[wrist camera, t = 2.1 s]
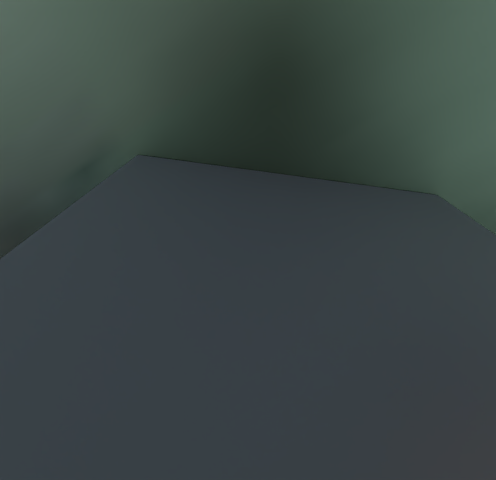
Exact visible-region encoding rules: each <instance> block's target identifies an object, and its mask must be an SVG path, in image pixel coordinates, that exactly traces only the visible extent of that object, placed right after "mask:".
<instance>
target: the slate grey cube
mask: <svg viewBox="0 0 496 480" xmlns="http://www.w3.org/2000/svg"><path fill="white" fill-rule="evenodd" d="M0 480H496V235H495V234H494V233H492V232H491V231H489V230H488V229H486V228H485V227H483V226H482V225H480V224H479V223H477V222H476V221H475V220H473V219H472V218H470V217H469V216H467V215H466V214H464V213H463V212H461V211H460V210H458V209H457V208H456V207H454V206H453V205H451V204H450V203H448V202H447V201H445V200H444V199H442V198H441V197H439V196H438V195H433V194H426V193H418V192H411V191H404V190H396V189H389V188H381V187H374V186H366V185H359V184H352V183H344V182H337V181H329V180H322V179H314V178H307V177H299V176H292V175H285V174H277V173H270V172H262V171H255V170H247V169H240V168H233V167H225V166H218V165H210V164H203V163H195V162H188V161H180V160H173V159H166V158H158V157H151V156H143V155H137V156H135V157H134V158H133V159H131V160H130V161H129V162H127V163H126V164H125V165H123V166H122V167H121V168H120V169H118V170H117V171H116V172H114V173H113V174H112V175H110V176H109V177H108V178H106V179H105V180H104V181H102V182H101V183H100V184H98V185H97V186H96V187H94V188H93V189H92V190H90V191H89V192H88V193H86V194H85V195H84V196H83V197H81V198H80V199H79V200H77V201H76V202H75V203H73V204H72V205H71V206H69V207H68V208H67V209H65V210H64V211H63V212H61V213H60V214H59V215H57V216H56V217H55V218H53V219H52V220H51V221H50V222H48V223H47V224H46V225H44V226H43V227H42V228H40V229H39V230H38V231H36V232H35V233H34V234H32V235H31V236H30V237H28V238H27V239H26V240H24V241H23V242H22V243H20V244H19V245H18V246H16V247H15V248H14V249H13V250H11V251H10V252H9V253H7V254H6V255H5V256H3V257H2V258H1V259H0Z"/></svg>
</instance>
